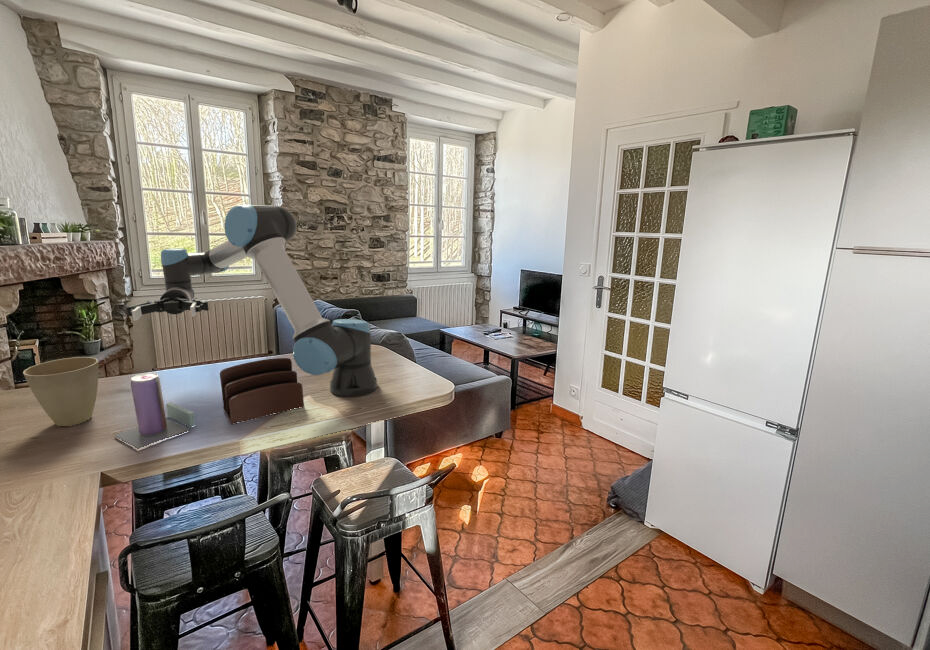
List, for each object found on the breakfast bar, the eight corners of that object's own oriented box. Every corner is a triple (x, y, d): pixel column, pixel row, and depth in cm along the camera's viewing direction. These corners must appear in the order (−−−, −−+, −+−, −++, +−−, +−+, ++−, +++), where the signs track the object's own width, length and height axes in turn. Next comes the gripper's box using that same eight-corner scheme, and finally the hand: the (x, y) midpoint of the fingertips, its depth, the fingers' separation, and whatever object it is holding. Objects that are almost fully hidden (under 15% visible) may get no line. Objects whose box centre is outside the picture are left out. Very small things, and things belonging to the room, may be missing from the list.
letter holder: (223, 412, 130) (218, 366, 127) (293, 396, 142) (290, 354, 138) (231, 425, 122) (225, 376, 119) (304, 407, 134) (301, 362, 131)
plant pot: (100, 404, 133) (90, 353, 129) (114, 419, 124) (104, 364, 120) (31, 421, 122) (18, 366, 118) (42, 439, 112) (28, 379, 109)
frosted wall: (195, 426, 121) (193, 412, 120) (191, 427, 120) (189, 414, 119) (172, 415, 127) (170, 402, 126) (167, 416, 126) (165, 403, 125)
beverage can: (154, 438, 113) (145, 382, 109) (133, 436, 114) (123, 380, 110) (172, 427, 118) (164, 373, 115) (152, 425, 119) (143, 372, 116)
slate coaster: (189, 431, 118) (189, 429, 118) (137, 451, 108) (137, 448, 108) (166, 420, 124) (165, 417, 124) (115, 437, 114) (114, 435, 114)
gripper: (221, 309, 149) (216, 322, 130) (130, 315, 139) (111, 331, 120) (218, 286, 147) (213, 297, 129) (126, 291, 137) (105, 303, 118)
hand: (163, 313), depth 124 cm, fingers open, 13 cm apart
